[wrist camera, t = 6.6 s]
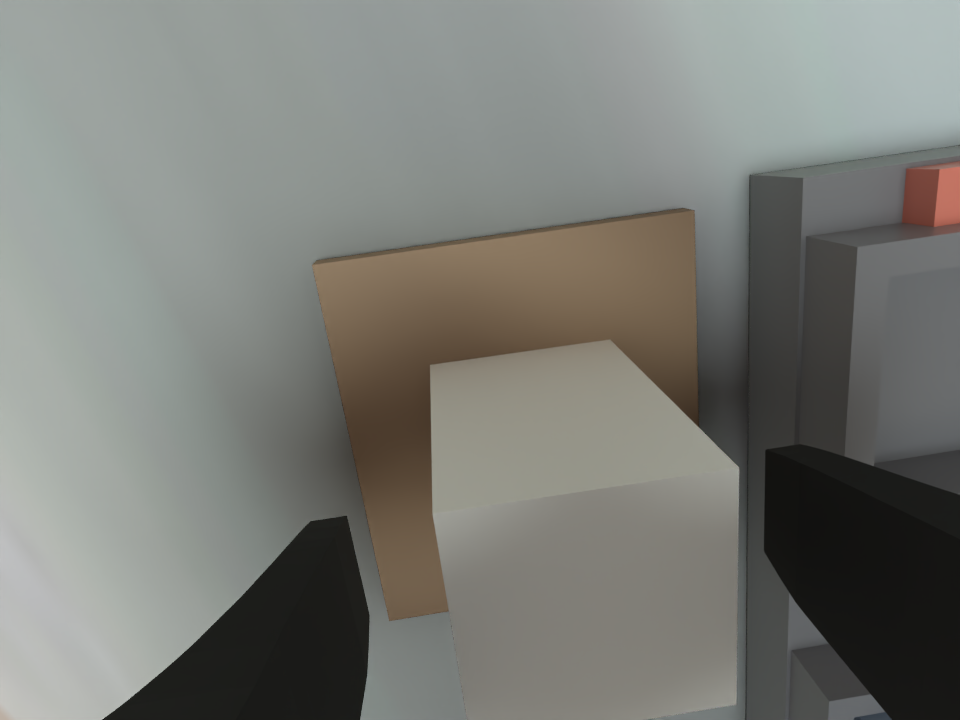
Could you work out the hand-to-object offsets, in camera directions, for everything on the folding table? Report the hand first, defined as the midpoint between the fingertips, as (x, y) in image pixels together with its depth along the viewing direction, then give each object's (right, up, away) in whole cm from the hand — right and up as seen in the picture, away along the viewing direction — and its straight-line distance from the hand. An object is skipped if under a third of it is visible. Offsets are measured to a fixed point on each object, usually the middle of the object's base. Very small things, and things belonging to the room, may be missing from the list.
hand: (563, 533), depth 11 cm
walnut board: (0, +1, +4) cm, 5 cm away
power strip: (+9, -4, +7) cm, 12 cm away
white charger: (0, +1, +4) cm, 4 cm away
